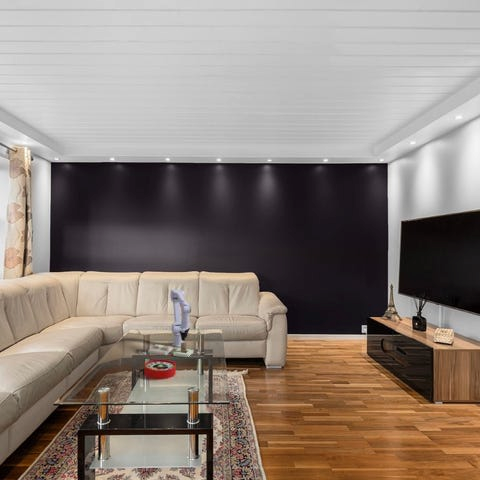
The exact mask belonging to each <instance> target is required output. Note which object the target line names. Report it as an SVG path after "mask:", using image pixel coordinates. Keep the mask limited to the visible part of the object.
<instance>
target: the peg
mask: <svg viewBox="0 0 480 480" xmlns="http://www.w3.org/2000/svg"><path fill="white" fill-rule="evenodd" d="M180 348H181V353H186V349H187V342H183V343H181V347H180Z"/></svg>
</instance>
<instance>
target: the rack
mask: <svg viewBox="0 0 480 480" xmlns="http://www.w3.org/2000/svg"><path fill="white" fill-rule="evenodd" d="M194 352H195V351H194V349H190V348H186V353H181V347H177V349H175V351H173V352H172V356H175V357H180V358H181V357H182V358H187V357H189V356H190V355H191V354H192V355H193V354H194ZM192 355H191V356H192ZM191 356H190V357H191ZM190 357H189V358H190Z"/></svg>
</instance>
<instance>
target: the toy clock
mask: <svg viewBox="0 0 480 480" xmlns="http://www.w3.org/2000/svg"><path fill="white" fill-rule="evenodd" d="M176 370H177V364H176V362H174V361H172V360H169V359H151V360H149V361H147V362H145V363H144V371H143V372H144V376H145V377H147V378H149V379H152V380H167V379H170V378H173V377H174V376H176Z"/></svg>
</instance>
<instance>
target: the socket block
mask: <svg viewBox="0 0 480 480" xmlns="http://www.w3.org/2000/svg"><path fill="white" fill-rule="evenodd" d="M156 345H157V346H159V347H158V348H157V349H156V348H154V347H153V346H151V347H150V348H149V349H148V351H147V353H149V354H154V355H155V354H156V355H162V354H163V355H164V356H167V355H168V354H169V353H170V352H171V351H173V349H174V346H171V345H163V344H156Z"/></svg>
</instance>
